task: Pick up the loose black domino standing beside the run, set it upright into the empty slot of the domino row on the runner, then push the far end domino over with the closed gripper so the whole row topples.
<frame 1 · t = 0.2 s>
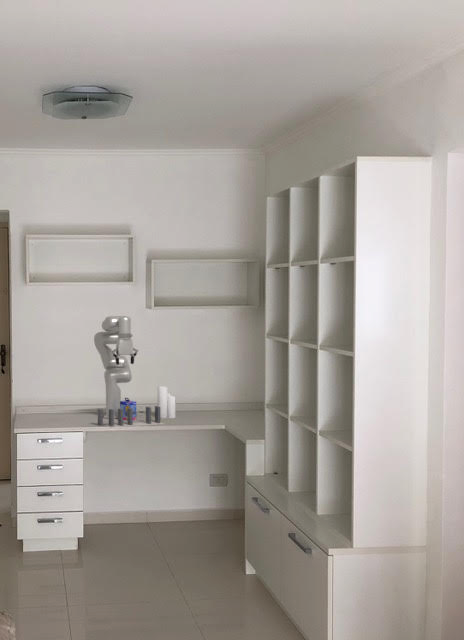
hand: (124, 364, 588), 36 cm above the table, tool pointing down, fingers open, 9 cm apart
domino 5: (157, 422, 585), resting on runner
domino 3: (130, 424, 577), resting on runner
white tube cluster: (166, 418, 609), on the table
ink cartridge box: (128, 420, 597), on the table
domino 4: (148, 423, 582), resting on runner
runner: (134, 424, 578), on the table
domino 2: (120, 425, 574), resting on runner
domino 1: (111, 425, 572), resting on runner
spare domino: (100, 425, 575), on the table
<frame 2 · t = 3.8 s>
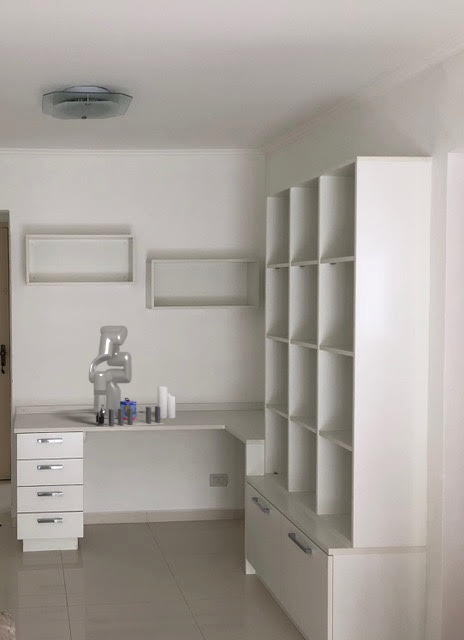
hand: (100, 422, 575), 2 cm above the table, tool pointing down, fingers closed on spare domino, 4 cm apart
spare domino: (100, 425, 575), on the table, touching gripper
everything else where it was.
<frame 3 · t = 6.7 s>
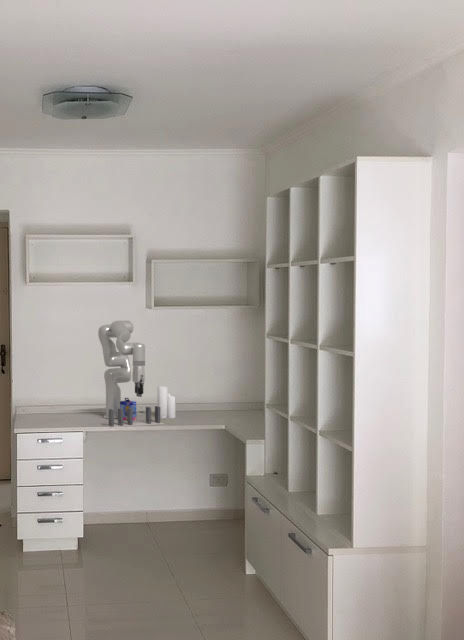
hand: (139, 393, 579), 19 cm above the table, tool pointing down, fingers closed on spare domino, 4 cm apart
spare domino: (139, 396, 579), point 17 cm above the table, touching gripper
everything else where it was.
when the fingers open (3 cm above the table, at t = 10.1 s): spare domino stays where it is, resting on runner.
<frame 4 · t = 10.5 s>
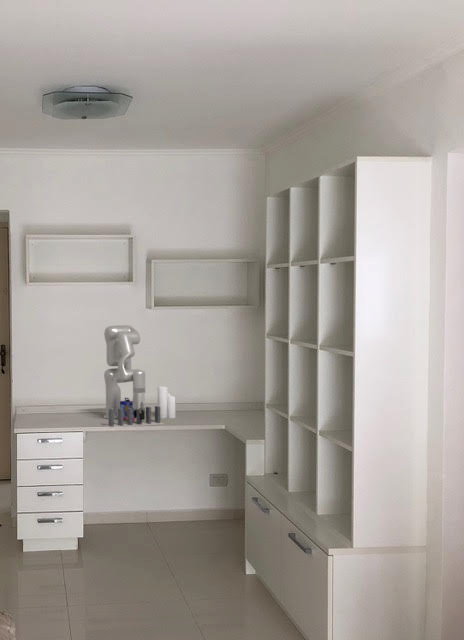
hand: (139, 418, 579), 4 cm above the table, tool pointing down, fingers open, 9 cm apart
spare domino: (139, 424, 579), resting on runner
everything else where it was.
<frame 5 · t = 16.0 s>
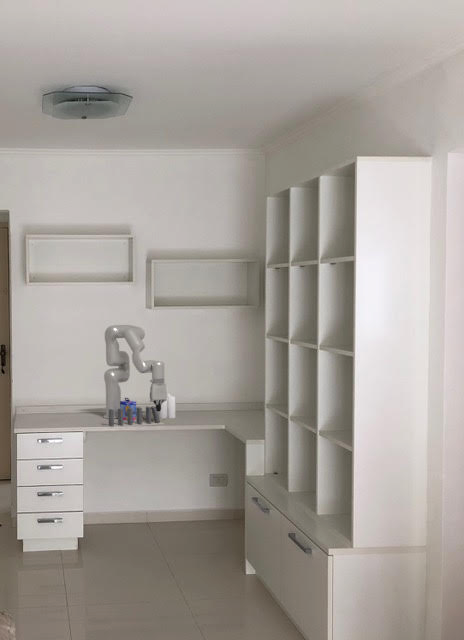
hand: (158, 411, 585), 8 cm above the table, tool pointing down, fingers closed
domino 5: (157, 422, 585), point 1 cm above the table, tilted 16°, touching runner
everything else where it was.
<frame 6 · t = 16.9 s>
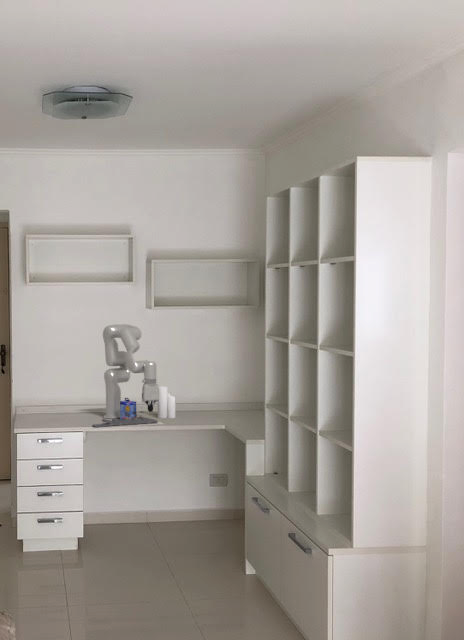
hand: (150, 411, 582), 8 cm above the table, tool pointing down, fingers closed
domino 5: (156, 421, 584), point 1 cm above the table, tilted 74°, touching domino 4, runner
domino 3: (128, 423, 576), point 1 cm above the table, tilted 75°, touching domino 2, runner, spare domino
domino 4: (147, 422, 582), point 1 cm above the table, tilted 75°, touching domino 5, runner, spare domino
domino 2: (118, 424, 574), point 1 cm above the table, tilted 73°, touching domino 1, domino 3, runner
domino 1: (109, 424, 571), point 1 cm above the table, tilted 92°, touching domino 2, runner
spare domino: (137, 422, 579), point 1 cm above the table, tilted 75°, touching domino 3, domino 4, runner
everything else where it was.
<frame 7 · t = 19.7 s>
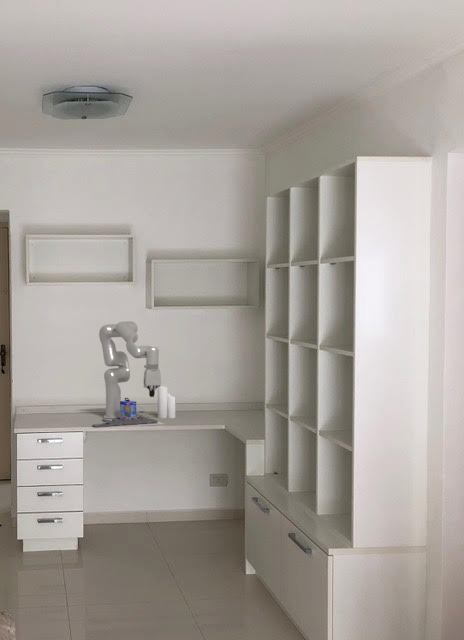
hand: (151, 396, 583), 17 cm above the table, tool pointing down, fingers closed
nothing on the table moved.
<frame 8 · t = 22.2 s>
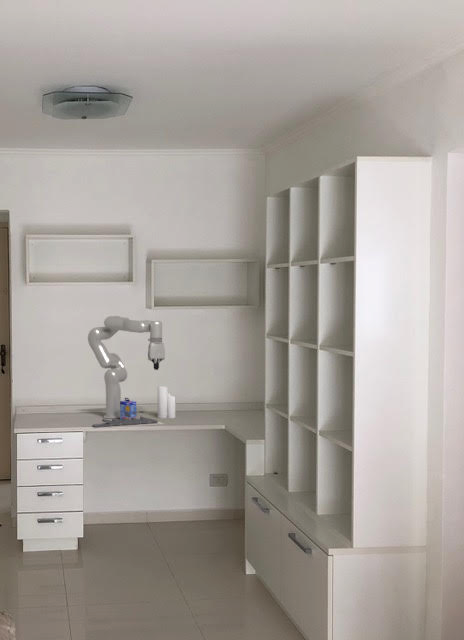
hand: (156, 369, 596), 32 cm above the table, tool pointing down, fingers closed
nothing on the table moved.
at the end: domino 1 tilted 92°; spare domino inside the target area (0.9 cm from its centre), point 1.1 cm above the table; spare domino tilted 75° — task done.
